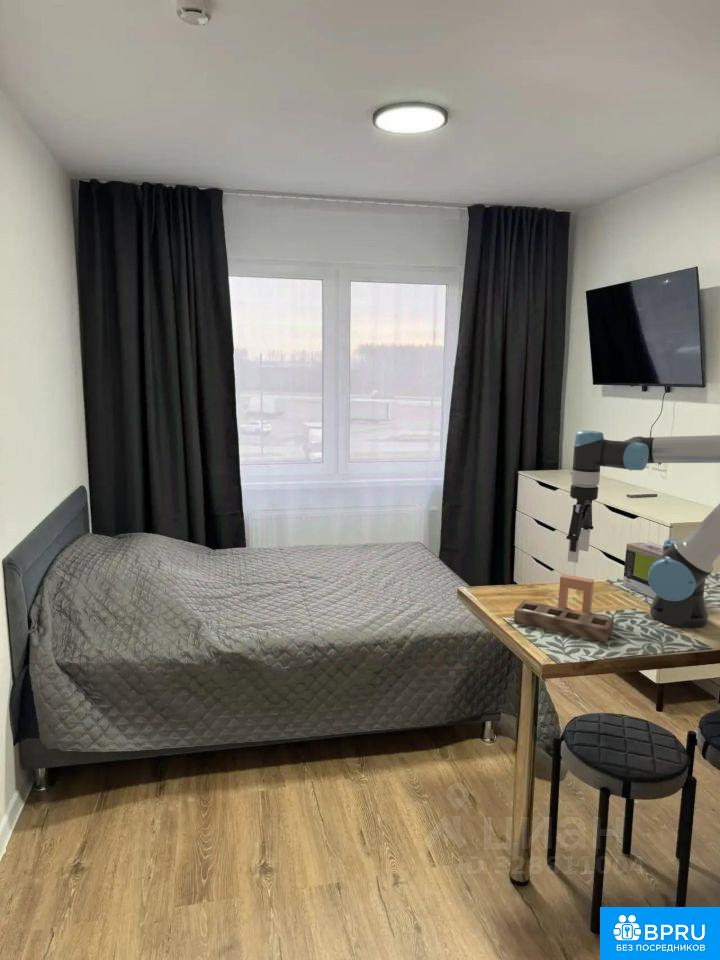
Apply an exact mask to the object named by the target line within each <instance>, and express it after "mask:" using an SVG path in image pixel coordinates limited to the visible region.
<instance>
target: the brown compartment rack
mask: <svg viewBox="0 0 720 960" xmlns="http://www.w3.org/2000/svg"><path fill="white" fill-rule="evenodd" d="M513 613H514V614H513V622H514V623H518V624H523V625H526V626H527V625H528V626H531V627H535V628H540V627H541V629H545V628H546V629H545V630H549V629H551V630H550V631H555V632H558V631H559V633H563V632H564V633H563V634H567V633H568V635H573V636H576V635H577V636H578V637H581V638H585V637H586V638H585V639H590V638H591V639H590V640H594V639H595V641H600V642H603V641H604V643H607V642H606V641H608V640H609V637H610V636H611V634H612V632H613V629H614V628H613V627H614V621H615V619H614V618H613V617H607V616H602V615H599V614H593V613H590V614H589V613H584V612H582V611H579V610H578V611H577V610H574V609H568V608H566V609H564V608H559V607H558V606H554V605H550V604H549V605H548V604H544V603H540V602H535V601H534V602H533V601H529V600H523V601H522V602H521V603H519V605H518V606H517V607H516V608H515V609H514V611H513ZM607 639H608V640H607Z"/></svg>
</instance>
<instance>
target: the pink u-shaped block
mask: <svg viewBox="0 0 720 960" xmlns="http://www.w3.org/2000/svg"><path fill="white" fill-rule="evenodd" d="M594 584H595V579H592V578H587V577H580V576H575V575H570V574H564V573H562V575H560V578H559V587H558V589H559V590H558V602H557V607H559V608H564V609H568V599H569V589H570V590H577V591H582V592H583V597H582V608H581V612H584V613H589V614H592V607H593V604H592V603H593V594H594V586H595V585H594Z"/></svg>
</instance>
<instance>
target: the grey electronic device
mask: <svg viewBox="0 0 720 960" xmlns="http://www.w3.org/2000/svg"><path fill="white" fill-rule="evenodd" d="M663 546H664V545H660V544H657V543H655V542H650V541H642V542H632V543H631V542H630V543H626V548H625V558H624V571H623V579H622V586H624V587H626V588H628V589H631V590H633V591H635V592H638V593H640V594H642V595H645V596H647V597H650V598H651V599H654V598H655V596H656V593H655V592H654V591H653V590H652V589H651V587H650V585H649V582H648V572H649V569H650V567H651V565H652V564H653V563H654V562H655V561H657V560H658V559H659V558H660V557H661V556H662V555H663Z"/></svg>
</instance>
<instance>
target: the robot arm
mask: <svg viewBox="0 0 720 960" xmlns="http://www.w3.org/2000/svg"><path fill="white" fill-rule="evenodd" d="M572 457H573V460H572V471H570V473H569V475H570V476H571V485H570V490H569V496H570V498H572V499H574V500H576V504H573V506H572V514H571V520H570V524H569V528H568V534H567V536H566V540H568V552H567V562H569V563H575V564H578V562H579V554H580V551H583V552H589V545H590V536H591V531H592V530H594V525H593V501H596V500H597V499H598V495H599V487H598V485H600V478H601V477H600V476H601V467H608V468H614V469H622V470H629V471H643V470H645V469H646V467H647V465H648V464H713V463H714V464H720V434H717V435H716V434H714V435H712V434H711V435H683V436H681V435H680V436H678V435H677V436H655V437H653V436H652V437H651V436H648V437H647V436H646V437H645V436H633V437H631V438H629V439H627V440H626V439H625V440H621V441H620V440H610V439H605V438H604V433H603V432H601V431H596V430H580V431H577V432H576V433H575V439H574V445H573V456H572ZM662 546H663V555H662V556H661V557H660V558H659V559H658V560H657V561H655V562H654V563H653V564H652V565H651V567H650V569H649V572H648V582H649V585H650V587H651V589H652V590H653V591H654V592H655V593H656V596H655V598H653V600H652V603H651V604H650V607H649V614H650V616H651V618H653V619H655V620H656V621H658V622H661V623H663V624H666V625H669V626H674V627H679V628H692V629H694V628H701V627H705V626H706V625H707V624H708V620H709V619H708V618H709V614H708V610H707V605H706V601H705V597H704V596H705V595H704V593H705V587H706V579H707V578H708V577H709V576H710V575H711V574H712V573H713V572H714V564H713V562H714V561H715V560H716V559H718V557H719V556H720V502H719V503H718V504H717V505H716V506H715V508H714V509H713V510H711V512H710V513H709V514H708V515H707V516H706V517H705V518H704V519H703V520H702V522H700V523H699V524H698V526H696V527H695V528H694V530H693V531H692V532H691V533H690V534H689V535H688V536H687V537H686V538H685V539H678V538H667V539H665V540H664V542H663V545H662Z"/></svg>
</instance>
